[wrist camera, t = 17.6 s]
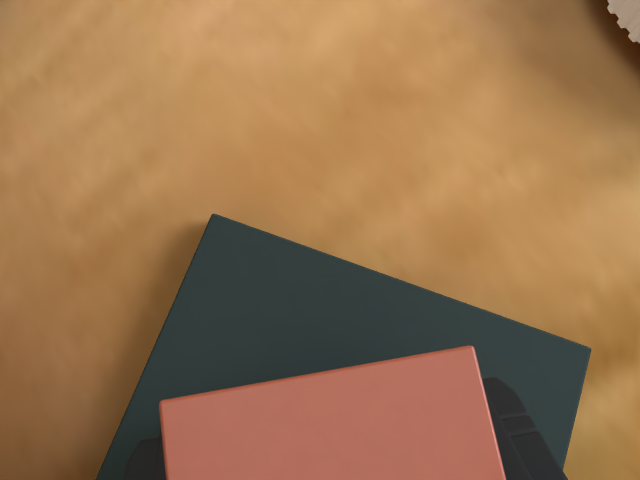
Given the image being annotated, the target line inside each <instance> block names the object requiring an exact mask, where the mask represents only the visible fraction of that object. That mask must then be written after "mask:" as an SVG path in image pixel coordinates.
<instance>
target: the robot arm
mask: <svg viewBox="0 0 640 480" xmlns="http://www.w3.org/2000/svg"><path fill="white" fill-rule="evenodd" d="M482 382H483V386H484V390H485V394H486V398H487V402H488V406H489V410H490V415H491V419H492V423H493V427H494V431H495V435H496V439H497V443H498V448H499V452H500V456H501V460H502V464H503V468H504V472H505V476H506V480H568V479H567V477H566V476H565V474H564V472H563V471H562V469H561V467H560V466H559V464H558V462H557V460H556V459H555V457H554V455H553V454H552V452H551V450H550V449H549V447H548V445H547V444H546V442H545V440H544V438H543V437H542V435H541V433H540V432H538V430H537V427H536V425H535V423H534V422H533V420H532V418H531V416H530V415H528V411H527V410H526V408H525V406H524V405H523V403H522V401H521V399H520V398H519V396H518V394H517V393H516V391H514V390H513V389H512V388H511V387H509V386H508V385H507V384H505V383H504V382H503V381H502V380H500V379H499V378H498V377H497V376H496V377H490V378H484V379H482ZM124 480H166V473H165V463H164V452H163V442H162V432H161V428H160V435H159V437H155V438H149V439H144V440H141V441H140V442H139V444H138V446H137V447H136V449H135V450H134V452H133V454H132V455H131V457H130V458H129V460H128V461H127V465H126V470H125V476H124Z"/></svg>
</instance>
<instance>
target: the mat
mask: <svg viewBox="0 0 640 480" xmlns="http://www.w3.org/2000/svg"><path fill="white" fill-rule="evenodd" d="M469 345H470V346H473V347H474V349H475V353H476V357H477V361H478V365H479V369H480V373H481V378H482V379H484V378H490V377H496V376H497V377H498V378H499V379H500V380H502V381H503V382H504V383H505V384H507V385H508V386H509V387H511V388H512V389H513V390H514V391H516V393H517V394H518V396H519V398H520V399H521V401H522V403H523V405H524V406H525V408H526V410H527V411H528V415H530V416H531V418H532V420H533V422H534V423H535V425H536V427H537V430H538V432H540V433H541V435H542V437H543V438H544V440H545V442H546V444H547V445H548V447H549V449H550V450H551V452H552V454H553V455H554V457H555V459H556V460H557V462H558V464H559V466H560V467H561V469H562V471H563V467H564V463H565V459H566V454H567V450H568V446H569V442H570V438H571V433H572V429H573V425H574V421H575V416H576V412H577V408H578V404H579V400H580V395H581V391H582V387H583V383H584V378H585V374H586V370H587V366H588V362H589V357H590V353H591V348H589V347H587V346H584V345H581V344H578V343H575V342H573V341H570V340H567V339H564V338H561V337H559V336H556V335H553V334H550V333H547V332H545V331H542V330H539V329H536V328H533V327H531V326H528V325H525V324H522V323H519V322H516V321H514V320H511V319H508V318H505V317H502V316H500V315H497V314H494V313H491V312H488V311H486V310H483V309H480V308H477V307H474V306H472V305H469V304H466V303H463V302H460V301H458V300H455V299H452V298H449V297H446V296H444V295H441V294H438V293H435V292H432V291H430V290H427V289H424V288H421V287H418V286H416V285H413V284H410V283H407V282H404V281H402V280H399V279H396V278H393V277H390V276H388V275H385V274H382V273H379V272H376V271H374V270H371V269H368V268H365V267H362V266H360V265H357V264H354V263H351V262H348V261H346V260H343V259H340V258H337V257H334V256H332V255H329V254H326V253H323V252H320V251H318V250H315V249H312V248H309V247H306V246H304V245H301V244H298V243H295V242H292V241H290V240H287V239H284V238H281V237H278V236H276V235H273V234H270V233H267V232H264V231H262V230H259V229H256V228H253V227H250V226H248V225H245V224H242V223H239V222H236V221H234V220H231V219H228V218H225V217H222V216H219V215H217V214H212V215H211V218H210V220H209V222H208V224H207V227H206V229H205V231H204V234H203V236H202V238H201V240H200V243H199V245H198V247H197V250H196V252H195V254H194V256H193V259H192V261H191V263H190V266H189V268H188V270H187V272H186V275H185V277H184V279H183V282H182V284H181V286H180V288H179V291H178V293H177V295H176V298H175V300H174V302H173V304H172V307H171V309H170V311H169V314H168V316H167V318H166V320H165V323H164V325H163V327H162V329H161V332H160V334H159V336H158V339H157V341H156V343H155V345H154V348H153V350H152V352H151V355H150V357H149V359H148V361H147V364H146V366H145V368H144V371H143V373H142V375H141V377H140V380H139V382H138V384H137V387H136V389H135V391H134V393H133V396H132V398H131V400H130V403H129V405H128V407H127V409H126V412H125V414H124V416H123V419H122V421H121V423H120V425H119V428H118V430H117V432H116V435H115V437H114V439H113V441H112V444H111V446H110V448H109V450H108V453H107V455H106V457H105V460H104V462H103V464H102V466H101V469H100V471H99V473H98V476H97V478H96V480H124V476H125V470H126V465H127V461H128V460H129V458H130V457H131V455H132V454H133V452H134V450H135V449H136V447H137V446H138V444H139V442H140V441H141V440H144V439H149V438H155V437H159V435H160V428H161V422H160V411H159V403H160V401H162V400H165V399H171V398H177V397H182V396H188V395H194V394H199V393H205V392H210V391H216V390H222V389H227V388H233V387H238V386H244V385H250V384H255V383H261V382H267V381H272V380H278V379H283V378H289V377H295V376H300V375H306V374H311V373H317V372H323V371H328V370H334V369H340V368H345V367H351V366H356V365H362V364H368V363H373V362H379V361H384V360H390V359H396V358H401V357H407V356H412V355H418V354H424V353H429V352H435V351H441V350H446V349H452V348H457V347H463V346H469Z"/></svg>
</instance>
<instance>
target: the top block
mask: <svg viewBox="0 0 640 480" xmlns="http://www.w3.org/2000/svg"><path fill="white" fill-rule="evenodd" d="M159 411H160V422H161V432H162V442H163V452H164V463H165V473H166V480H506V476H505V472H504V468H503V464H502V460H501V456H500V452H499V448H498V443H497V439H496V435H495V431H494V427H493V423H492V419H491V415H490V410H489V406H488V402H487V398H486V394H485V390H484V386H483V382H482V378H481V373H480V369H479V365H478V361H477V357H476V353H475V349H474V347H473V346H470V345H469V346H463V347H457V348H452V349H446V350H441V351H435V352H429V353H424V354H418V355H412V356H407V357H401V358H396V359H390V360H384V361H379V362H373V363H368V364H362V365H356V366H351V367H345V368H340V369H334V370H328V371H323V372H317V373H311V374H306V375H300V376H295V377H289V378H283V379H278V380H272V381H267V382H261V383H255V384H250V385H244V386H238V387H233V388H227V389H222V390H216V391H210V392H205V393H199V394H194V395H188V396H182V397H177V398H171V399H165V400H162V401H160V403H159Z"/></svg>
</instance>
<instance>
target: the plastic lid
mask: <svg viewBox="0 0 640 480" xmlns="http://www.w3.org/2000/svg"><path fill="white" fill-rule="evenodd" d="M607 1H608V3H609V5H608V7H607V9H608V10H609V12H610V13H611V14H616V15H617V17H618V18H619V20H618V21H617V24H618V25H619V26H620V28H626V29H627V30H628V31H629V32H630V34H629V35H628V37H629V38H630V39H631V41H632V42H636V41H637V42H639V43H640V0H607Z"/></svg>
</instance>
